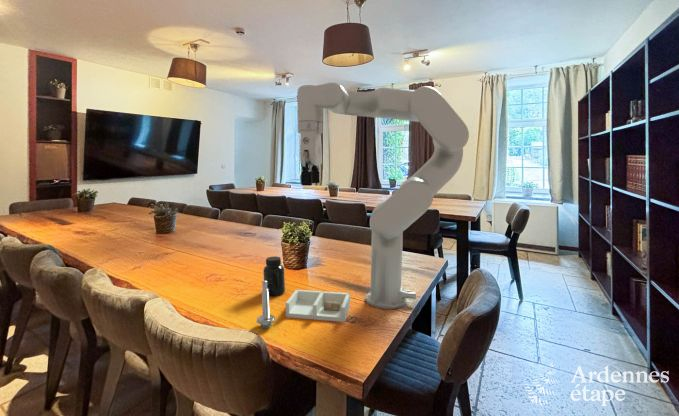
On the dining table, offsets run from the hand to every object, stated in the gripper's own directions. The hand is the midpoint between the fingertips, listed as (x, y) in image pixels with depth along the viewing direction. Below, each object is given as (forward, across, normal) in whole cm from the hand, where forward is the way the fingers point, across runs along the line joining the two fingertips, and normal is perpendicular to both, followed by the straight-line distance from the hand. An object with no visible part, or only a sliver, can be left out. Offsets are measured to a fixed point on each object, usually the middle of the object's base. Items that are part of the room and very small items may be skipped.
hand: (310, 184), depth 104 cm
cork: (+36, -11, -9) cm, 38 cm away
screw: (+37, -22, +7) cm, 43 cm away
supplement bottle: (+37, 0, +13) cm, 39 cm away
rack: (+37, -11, -5) cm, 39 cm away
